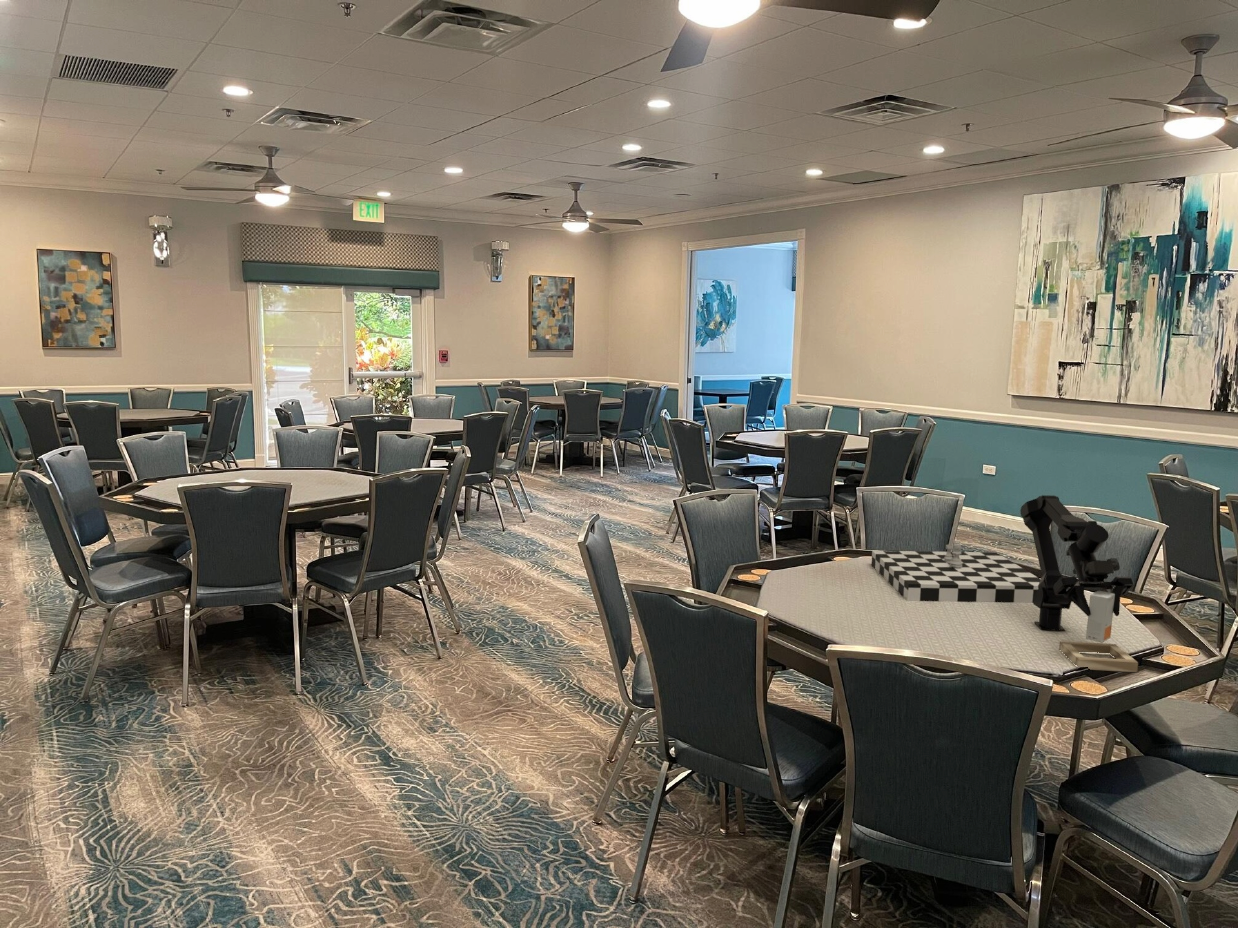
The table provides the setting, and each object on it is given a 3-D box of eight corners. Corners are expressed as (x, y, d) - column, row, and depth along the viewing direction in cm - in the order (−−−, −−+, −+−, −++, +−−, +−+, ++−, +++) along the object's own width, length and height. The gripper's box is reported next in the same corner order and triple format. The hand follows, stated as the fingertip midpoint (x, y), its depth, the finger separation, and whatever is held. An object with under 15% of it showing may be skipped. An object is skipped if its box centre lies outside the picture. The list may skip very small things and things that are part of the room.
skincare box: (1103, 643, 230) (1107, 598, 228) (1085, 639, 233) (1089, 594, 231) (1111, 638, 234) (1115, 593, 232) (1093, 634, 237) (1097, 589, 235)
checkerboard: (1051, 604, 285) (1054, 558, 283) (907, 602, 286) (910, 556, 284) (995, 568, 330) (998, 528, 328) (871, 566, 331) (873, 527, 329)
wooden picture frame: (1058, 650, 242) (1059, 641, 242) (1114, 652, 240) (1115, 643, 240) (1078, 668, 228) (1079, 659, 228) (1137, 672, 226) (1138, 662, 226)
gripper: (1062, 546, 234) (1080, 600, 225) (1134, 546, 234) (1155, 600, 225) (1045, 567, 243) (1062, 620, 234) (1114, 568, 243) (1134, 621, 234)
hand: (1103, 615), depth 231 cm, fingers closed on skincare box, 7 cm apart
